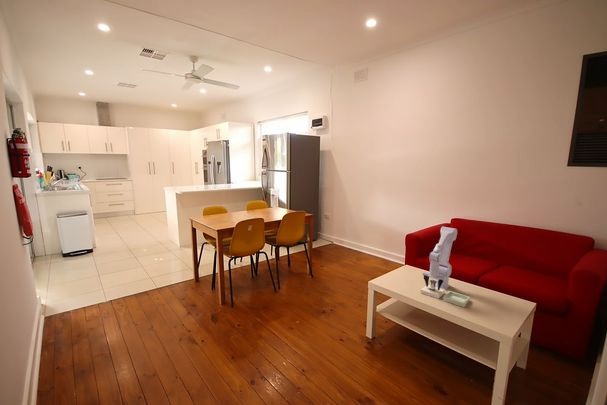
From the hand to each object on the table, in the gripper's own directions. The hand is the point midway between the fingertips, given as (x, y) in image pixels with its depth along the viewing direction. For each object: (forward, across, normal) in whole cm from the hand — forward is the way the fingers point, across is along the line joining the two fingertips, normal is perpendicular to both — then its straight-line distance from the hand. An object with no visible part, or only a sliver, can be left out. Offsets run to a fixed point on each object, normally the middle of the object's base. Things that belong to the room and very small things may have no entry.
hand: (432, 288), depth 191 cm
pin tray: (+3, +15, 0) cm, 15 cm away
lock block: (+3, 0, 0) cm, 3 cm away
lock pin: (+4, 0, 0) cm, 4 cm away
